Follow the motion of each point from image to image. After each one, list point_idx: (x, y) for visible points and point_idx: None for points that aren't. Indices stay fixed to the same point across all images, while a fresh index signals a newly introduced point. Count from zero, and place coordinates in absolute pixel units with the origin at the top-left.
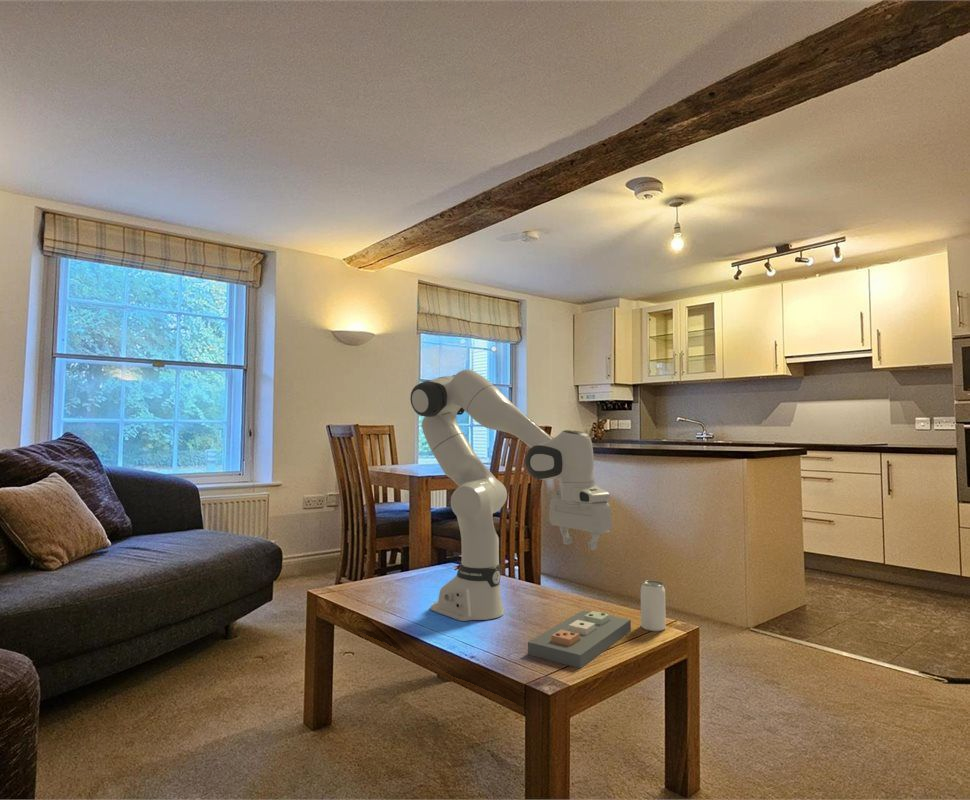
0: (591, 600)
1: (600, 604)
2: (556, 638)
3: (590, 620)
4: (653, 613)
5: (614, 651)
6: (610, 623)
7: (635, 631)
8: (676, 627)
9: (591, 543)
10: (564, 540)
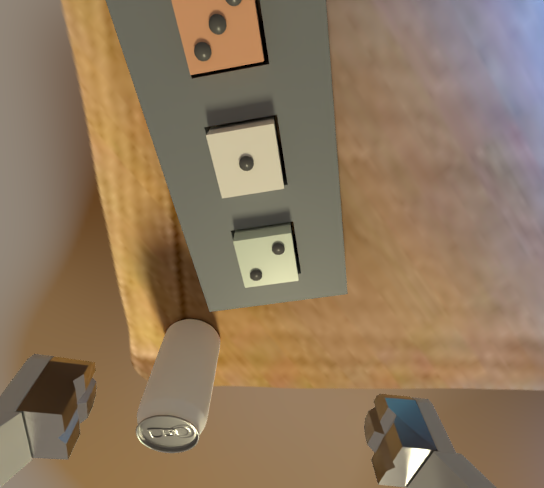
0: (402, 387)
1: (370, 380)
2: None
3: (270, 230)
4: (165, 352)
5: (145, 153)
6: (226, 258)
7: None
8: None
9: (2, 402)
10: (424, 421)
